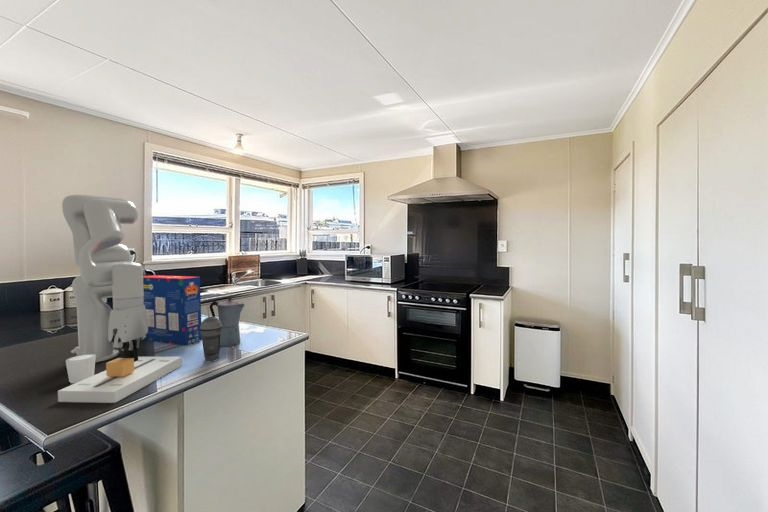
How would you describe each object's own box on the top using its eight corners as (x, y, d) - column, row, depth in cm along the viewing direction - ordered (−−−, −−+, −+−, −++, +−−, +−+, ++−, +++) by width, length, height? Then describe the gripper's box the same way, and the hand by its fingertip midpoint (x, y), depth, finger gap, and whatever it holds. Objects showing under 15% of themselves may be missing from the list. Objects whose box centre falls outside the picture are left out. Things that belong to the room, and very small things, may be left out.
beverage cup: (213, 363, 112) (211, 307, 111) (195, 362, 113) (193, 306, 113) (227, 356, 119) (226, 303, 118) (210, 355, 120) (209, 302, 120)
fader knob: (106, 376, 94) (106, 362, 93) (118, 370, 98) (118, 358, 97) (122, 376, 93) (122, 363, 93) (134, 371, 97) (133, 358, 97)
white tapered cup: (79, 375, 103) (78, 353, 103) (102, 374, 103) (101, 353, 103) (59, 384, 96) (58, 361, 96) (84, 383, 97) (83, 360, 96)
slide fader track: (58, 401, 85) (57, 390, 85) (137, 364, 111) (137, 356, 111) (115, 402, 85) (114, 391, 84) (182, 365, 111) (181, 356, 110)
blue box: (201, 340, 140) (199, 276, 139) (185, 345, 132) (182, 278, 131) (156, 334, 149) (154, 275, 148) (138, 339, 142) (136, 277, 141)
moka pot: (240, 347, 129) (239, 298, 129) (203, 347, 130) (201, 298, 129) (250, 340, 139) (249, 294, 138) (215, 340, 139) (214, 294, 138)
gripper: (136, 298, 106) (139, 353, 107) (94, 308, 91) (97, 371, 92) (158, 298, 106) (160, 353, 106) (119, 307, 91) (122, 371, 91)
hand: (131, 361), depth 99 cm, fingers closed
